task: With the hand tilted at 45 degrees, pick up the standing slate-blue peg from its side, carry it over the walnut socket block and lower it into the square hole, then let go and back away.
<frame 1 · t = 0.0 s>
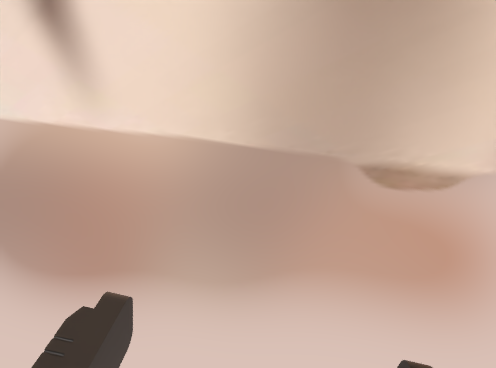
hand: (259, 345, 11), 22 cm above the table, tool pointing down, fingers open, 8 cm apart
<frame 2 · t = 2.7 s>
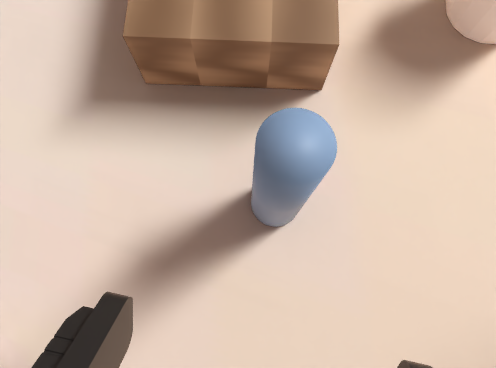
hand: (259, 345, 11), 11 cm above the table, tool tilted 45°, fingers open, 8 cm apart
peg: (275, 202, 23), on the table
white cup: (482, 12, 27), on the table
hole block: (237, 12, 27), on the table
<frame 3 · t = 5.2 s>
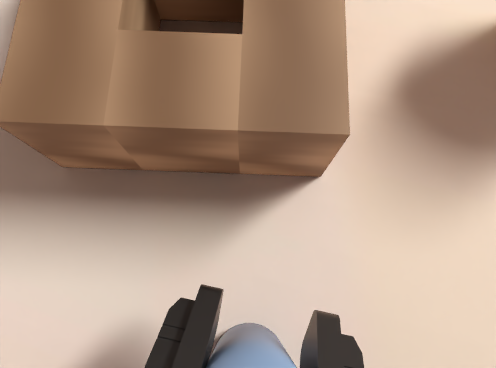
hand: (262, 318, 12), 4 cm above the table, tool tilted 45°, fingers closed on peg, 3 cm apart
peg: (249, 362, 15), on the table, touching gripper
hole block: (200, 58, 19), on the table
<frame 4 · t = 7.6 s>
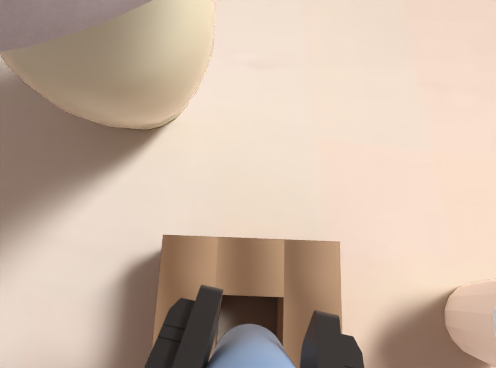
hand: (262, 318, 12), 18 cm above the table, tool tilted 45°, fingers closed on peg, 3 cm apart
peg: (249, 362, 15), point 14 cm above the table, touching gripper
white cup: (479, 319, 29), on the table
lamp: (146, 87, 34), on the table
hole block: (247, 324, 29), on the table
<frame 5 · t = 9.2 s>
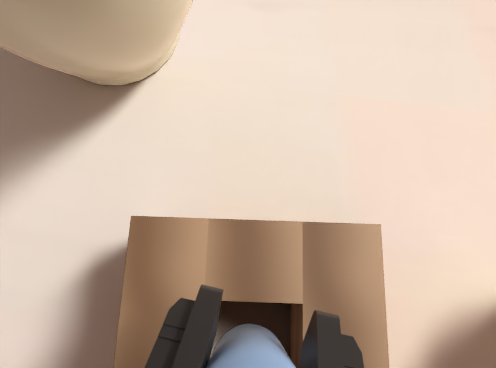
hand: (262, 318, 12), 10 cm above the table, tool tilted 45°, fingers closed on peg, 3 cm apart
peg: (249, 362, 15), point 6 cm above the table, touching gripper
lamp: (120, 33, 27), on the table
hole block: (250, 339, 21), on the table
when the fingers open (7 cm above the table, at t = 10.2 s): peg drops 3 cm, resting in hole block.
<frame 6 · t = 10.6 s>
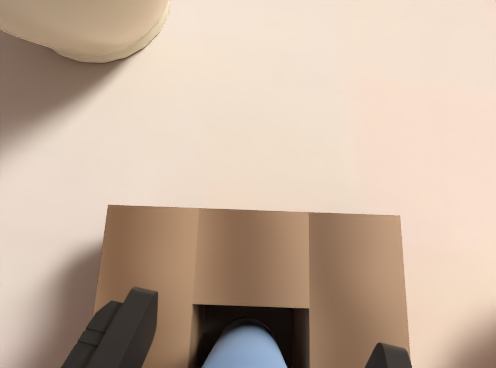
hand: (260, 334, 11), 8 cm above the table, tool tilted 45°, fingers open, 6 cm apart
peg: (246, 349, 19), resting in hole block
lamp: (104, 6, 24), on the table
hole block: (247, 348, 19), on the table
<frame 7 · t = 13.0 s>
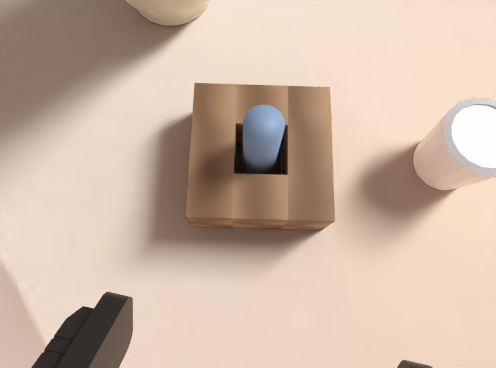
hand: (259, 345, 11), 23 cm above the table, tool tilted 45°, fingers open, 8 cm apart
peg: (258, 167, 36), resting in hole block
white cup: (440, 163, 37), on the table
hole block: (258, 167, 36), on the table
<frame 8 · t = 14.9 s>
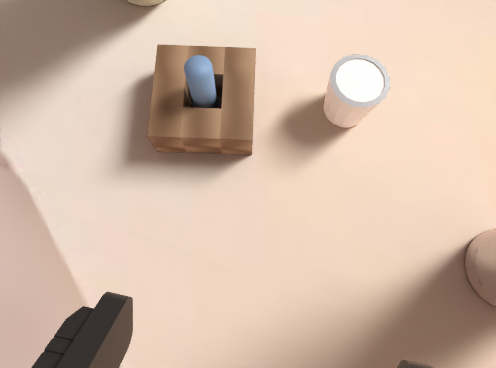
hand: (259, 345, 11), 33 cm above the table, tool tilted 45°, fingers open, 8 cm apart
peg: (207, 110, 49), resting in hole block
white cup: (344, 108, 49), on the table
hole block: (207, 109, 49), on the table
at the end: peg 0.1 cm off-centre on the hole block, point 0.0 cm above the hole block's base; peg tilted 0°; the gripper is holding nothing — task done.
